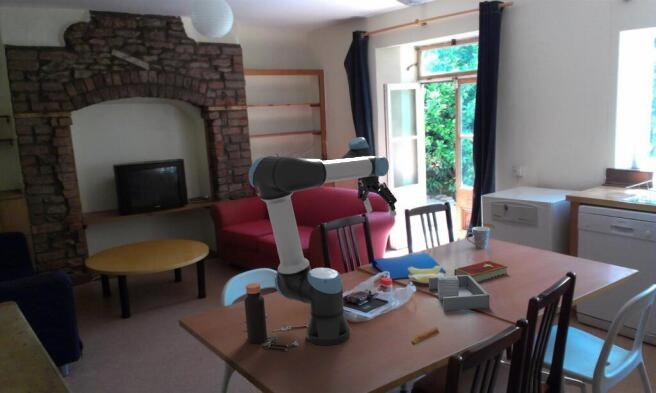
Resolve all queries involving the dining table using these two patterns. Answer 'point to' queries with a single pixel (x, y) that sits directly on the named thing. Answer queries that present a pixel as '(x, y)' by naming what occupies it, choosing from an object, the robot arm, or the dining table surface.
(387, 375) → the dining table surface
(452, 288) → the medicine box
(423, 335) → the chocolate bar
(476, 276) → the hardcover book
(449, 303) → the open box
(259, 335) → the bottle
